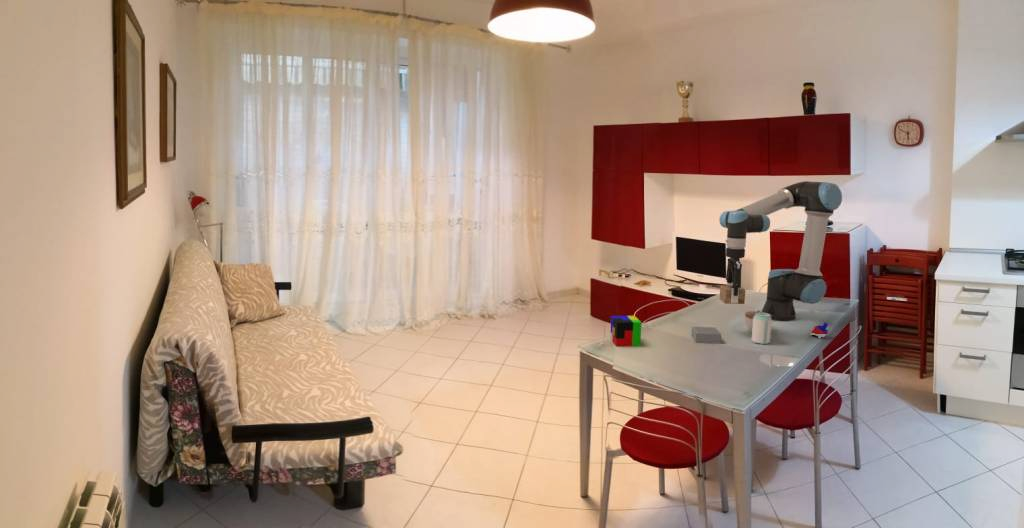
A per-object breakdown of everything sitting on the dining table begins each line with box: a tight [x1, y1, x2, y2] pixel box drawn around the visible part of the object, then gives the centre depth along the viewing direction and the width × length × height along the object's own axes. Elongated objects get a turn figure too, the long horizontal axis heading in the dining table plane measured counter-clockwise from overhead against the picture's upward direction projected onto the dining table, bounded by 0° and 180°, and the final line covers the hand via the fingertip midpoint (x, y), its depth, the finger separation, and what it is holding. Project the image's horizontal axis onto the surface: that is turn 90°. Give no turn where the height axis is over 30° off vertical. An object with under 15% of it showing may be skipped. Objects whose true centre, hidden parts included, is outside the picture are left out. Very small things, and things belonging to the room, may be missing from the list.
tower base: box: [690, 326, 722, 344], centre depth 262 cm, size 10×10×4 cm
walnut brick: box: [719, 285, 746, 305], centre depth 265 cm, size 8×8×6 cm
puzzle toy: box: [609, 315, 642, 347], centre depth 257 cm, size 10×10×10 cm
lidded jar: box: [744, 310, 771, 333], centre depth 273 cm, size 11×11×9 cm
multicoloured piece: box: [810, 322, 829, 335], centre depth 265 cm, size 4×4×8 cm
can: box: [751, 313, 773, 345], centre depth 258 cm, size 7×7×12 cm
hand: (731, 300), depth 266 cm, fingers closed on walnut brick, 8 cm apart
